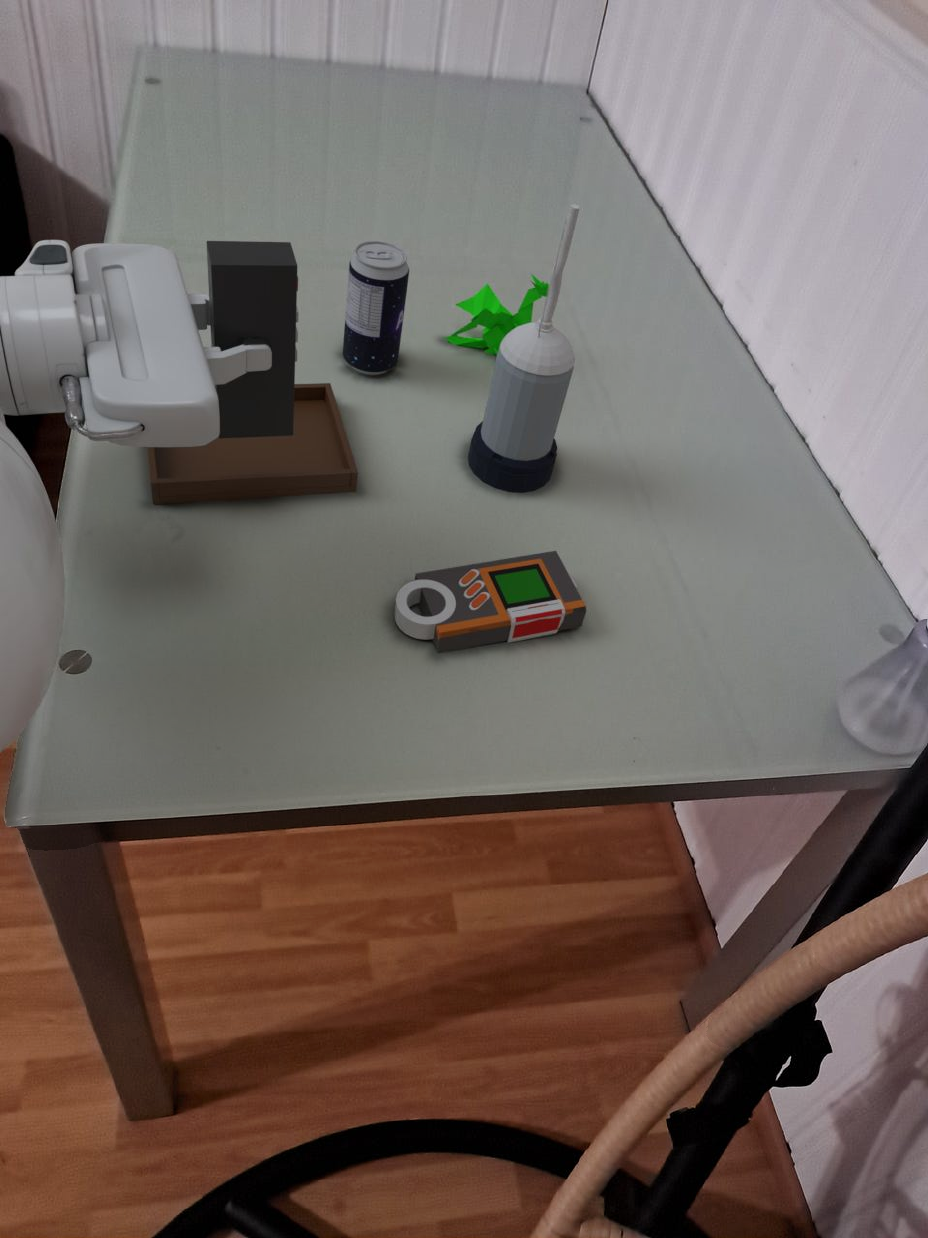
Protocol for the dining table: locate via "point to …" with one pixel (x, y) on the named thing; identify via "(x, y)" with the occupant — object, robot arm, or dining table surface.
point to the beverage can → (375, 307)
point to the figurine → (495, 317)
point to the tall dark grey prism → (255, 332)
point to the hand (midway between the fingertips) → (263, 334)
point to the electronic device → (491, 602)
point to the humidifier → (526, 396)
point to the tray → (262, 459)
